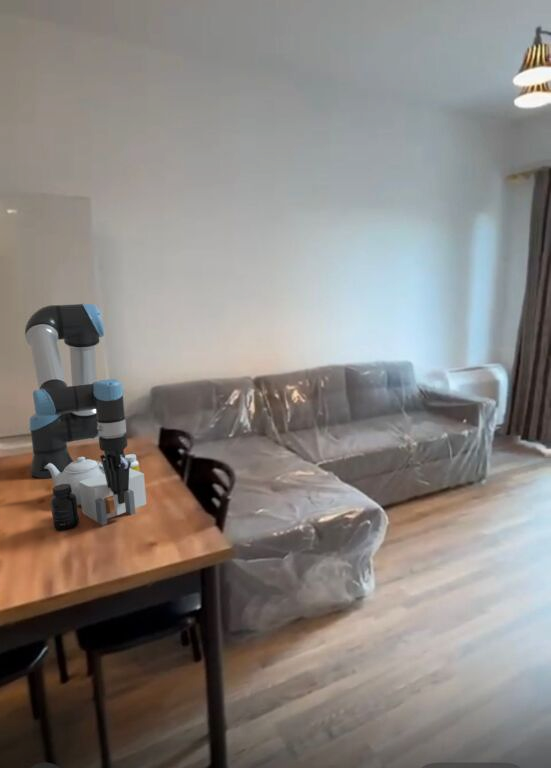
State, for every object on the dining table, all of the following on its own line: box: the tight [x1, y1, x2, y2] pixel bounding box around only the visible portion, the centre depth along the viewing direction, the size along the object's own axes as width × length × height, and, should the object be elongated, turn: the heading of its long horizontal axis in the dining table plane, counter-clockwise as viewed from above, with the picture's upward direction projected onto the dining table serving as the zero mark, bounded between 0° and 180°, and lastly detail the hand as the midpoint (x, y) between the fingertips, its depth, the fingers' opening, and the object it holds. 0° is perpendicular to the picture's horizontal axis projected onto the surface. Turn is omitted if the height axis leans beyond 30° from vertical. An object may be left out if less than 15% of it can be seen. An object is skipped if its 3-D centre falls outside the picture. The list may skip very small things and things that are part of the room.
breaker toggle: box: [104, 496, 115, 514], centre depth 144 cm, size 8×4×4 cm, turn 47°
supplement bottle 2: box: [125, 453, 140, 472], centre depth 169 cm, size 5×5×10 cm
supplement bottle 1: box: [49, 484, 80, 532], centre depth 137 cm, size 7×7×12 cm
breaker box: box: [79, 468, 147, 527], centre depth 147 cm, size 13×16×10 cm
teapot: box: [44, 456, 105, 507], centre depth 158 cm, size 19×18×14 cm
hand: (120, 512), depth 141 cm, fingers closed
